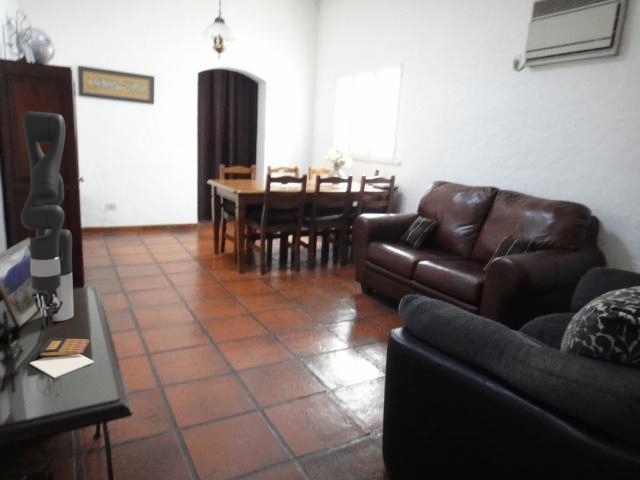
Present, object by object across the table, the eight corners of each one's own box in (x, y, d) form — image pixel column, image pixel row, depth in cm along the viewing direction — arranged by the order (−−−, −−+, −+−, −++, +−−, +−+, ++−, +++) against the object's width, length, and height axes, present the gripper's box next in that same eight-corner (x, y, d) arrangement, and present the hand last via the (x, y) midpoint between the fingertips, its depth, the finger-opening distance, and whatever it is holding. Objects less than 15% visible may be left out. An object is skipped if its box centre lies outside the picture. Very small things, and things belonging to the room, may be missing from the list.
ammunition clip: (39, 357, 135) (83, 355, 138) (39, 351, 134) (83, 350, 138) (50, 343, 145) (90, 342, 148) (49, 338, 144) (90, 337, 148)
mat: (29, 364, 132) (29, 362, 132) (69, 349, 142) (69, 348, 142) (54, 378, 126) (54, 377, 125) (94, 362, 136) (94, 361, 136)
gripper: (71, 274, 131) (72, 328, 135) (46, 264, 137) (48, 317, 141) (45, 279, 125) (47, 336, 128) (20, 269, 131) (23, 324, 135)
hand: (48, 326), depth 135 cm, fingers closed
